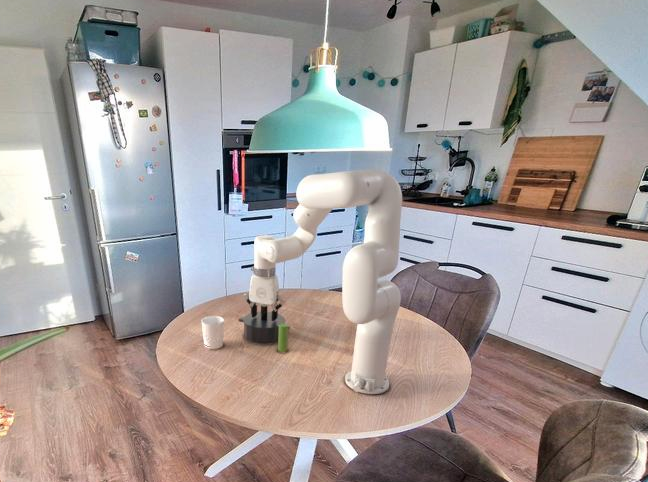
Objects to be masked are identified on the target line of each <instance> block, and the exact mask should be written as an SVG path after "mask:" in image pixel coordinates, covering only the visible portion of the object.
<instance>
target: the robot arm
mask: <svg viewBox="0 0 648 482" xmlns="http://www.w3.org/2000/svg"><path fill="white" fill-rule="evenodd" d="M295 195H296V201H297V203H298V205H297V206H296V208H295V209H294V211H293V214H292V216H293V220H294V222H295V224H296V225H297V226H298V227H297V229H296V231H295V232H294V233H293V234H292V235H290V236H287V237H286V236H285V237H281V238H276V236H273V235H269V234H268V235H266V234H263V235H257V236H256V237H255V238H254V243H253V266H251V267H250V271H252V272H253V273H252V275H251V278H250V282H249V283H250V284H249V290H248V292H246V293H244V294H243V297H244V299H245V300H246V302H247V304H248V305H249V307H250V313H251V314H252V318H254V317H255V316H256V315H257V312H258V305H257V304H259V305H260V304H261V305H263V304H265V305H267V306H270V307H271V308H272V310H271V312H272V321H275V320H276V319H277V317H278V314H279V310H280V308H282V307H283V306H284V305H285V304H286V303H287V300H286V299H285V298H284V297H283V296H282V295H281V294H280V288H279V279H278V278H279V277H278V275H277V274H276V273H277V272H276V271H277V268H276V267H277V264H279V263H284V262H288V261H291V260H296V259H298V258H300V257H301V256H303V255H304V254H305V253H306V252H307V251H308V250H309V248H310V247H311V246H312V245H313V244H314V242H315V239H316V237H317V232H318V227H319V226H320V225H321V224H322V222H323V221H324V220H325V219H326V217H328V216H329V214H330V213H331V212H332V210H334V209H348V208H355V207H361V206H369V209H368V212H367V215H366V217H365V221H364V237H363V238H364V239H363V243H361V244H357V245H355V246H354V247H351V249H350V250H348V252H347V253H346V255H345V257H344V260H343V263H342V277H341V279H342V281H341V282H342V283H341V284H342V285H341V289H342V290H341V295H342V296H341V303H342V304H341V305H342V310H343V313H344V315H345V317H346V318H347V320H349V322H351V323H353V324H356V325H357V326H356V331H355V337H354V338H355V339H354V346H353V355H352V363H351V370H350V371H348V372H347V373H346V374H345V376H344V382H345V384H346V386H348V387H349V388H350V389H352V390H353V392H356V393H361V394H365V395H379V394H383V393H386V392H387V391H388V390H389V388H390V381H389V379H388V378H387V377H386V372H387V368H388V367H387V366H388V360H389V354H390V348H391V342H392V338H393V337H392V336H393V331H394V326H395V322H396V319H397V316H398V313H399V310H400V307H401V303H402V302H401V301H402V295H401V291H400V288H399V287H398V286H397V284H396V283H394V282H392V281H391V280H388V279H381V278H384V277H385V276H388V275H390V274H391V273H393V272H395V271H396V269H397V267H398V265H399V256H400V238H401V219H402V218H401V217H402V209H403V193H402V188H401V185H400V183H399V182H398V181H397V179H396V178H395V177H394V176H393V175H392V174H390V173H389V172H386V171H383V170H380V169H358V170H345V171H337V172H329V173H328V172H327V173H319V174H308V175H306V176H305V177H303V178H302V180H300V182H299V183H298V185H297V187H296V192H295ZM278 302H279V303H278Z"/></svg>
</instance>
